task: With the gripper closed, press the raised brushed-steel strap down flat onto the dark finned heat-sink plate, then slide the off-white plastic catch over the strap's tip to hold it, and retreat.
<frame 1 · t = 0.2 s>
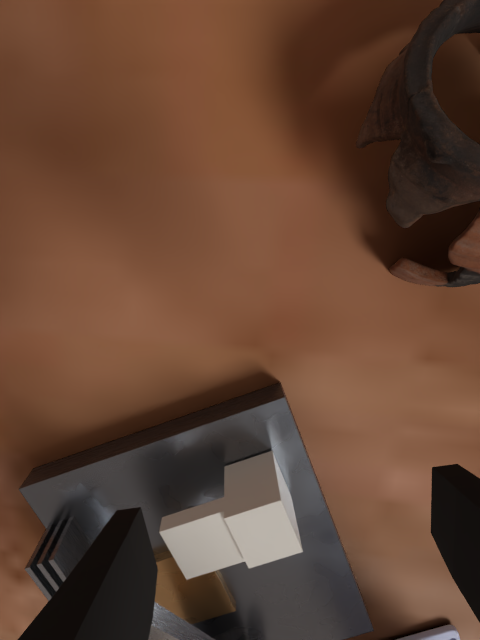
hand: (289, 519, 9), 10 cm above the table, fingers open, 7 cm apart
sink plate: (214, 543, 23), on the table
pottery mug: (466, 176, 17), on the table
catch: (230, 516, 18), point 3 cm above the table, slide at 0.0 cm
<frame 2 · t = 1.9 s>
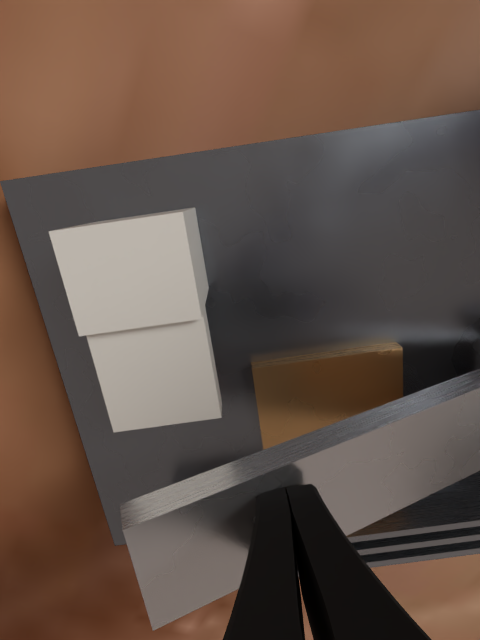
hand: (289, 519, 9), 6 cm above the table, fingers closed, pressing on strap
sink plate: (301, 343, 15), on the table
strap: (379, 462, 11), point 5 cm above the table, hinge at 20.0°, touching gripper
catch: (154, 317, 11), point 3 cm above the table, slide at 0.0 cm
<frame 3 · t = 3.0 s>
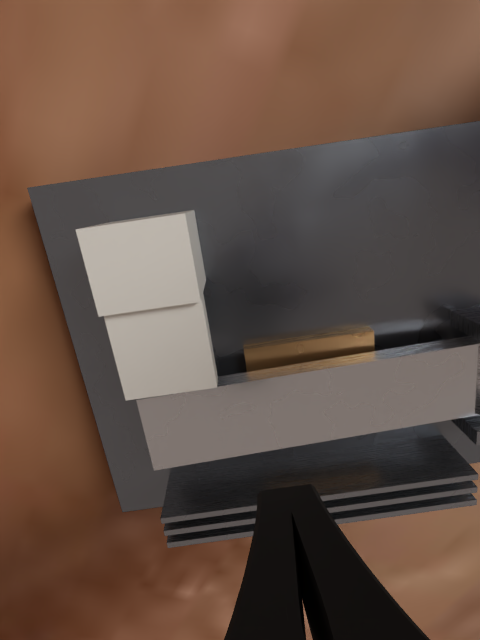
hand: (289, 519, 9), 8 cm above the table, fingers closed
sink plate: (288, 329, 17), on the table
strap: (327, 400, 15), point 3 cm above the table, hinge at 2.7°
catch: (160, 303, 13), point 3 cm above the table, slide at 0.0 cm
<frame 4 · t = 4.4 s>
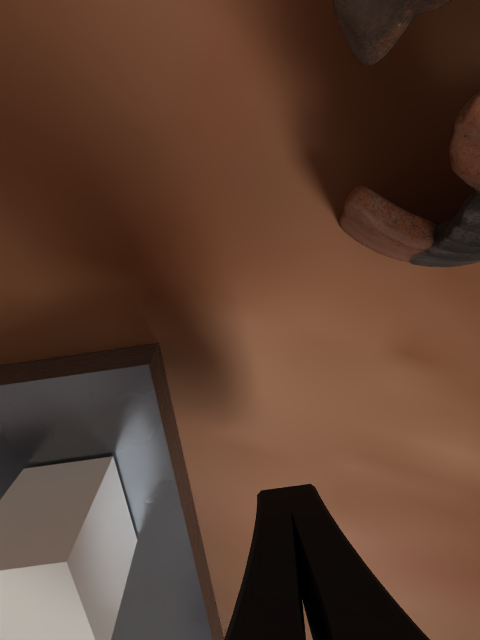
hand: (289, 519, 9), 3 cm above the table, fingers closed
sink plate: (16, 586, 14), on the table
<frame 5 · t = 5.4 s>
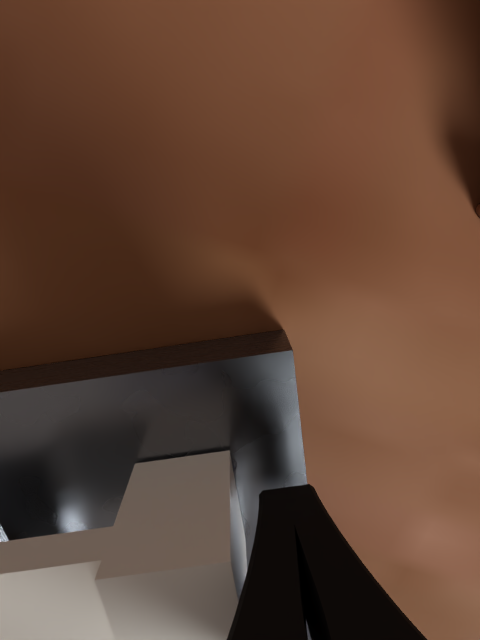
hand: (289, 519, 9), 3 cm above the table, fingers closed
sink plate: (111, 585, 13), on the table
catch: (123, 563, 9), point 3 cm above the table, slide at 0.4 cm, touching gripper
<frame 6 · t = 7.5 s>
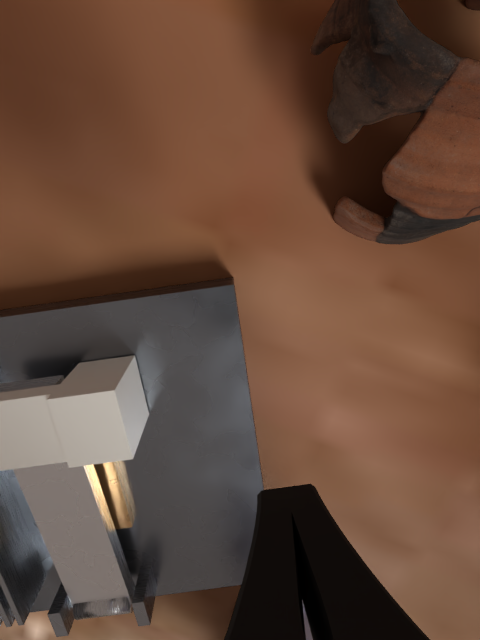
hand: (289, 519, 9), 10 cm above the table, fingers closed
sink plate: (124, 452, 20), on the table
pottery mug: (425, 132, 16), on the table
strap: (71, 511, 18), point 3 cm above the table, hinge at 2.7°
catch: (68, 412, 16), point 3 cm above the table, slide at 3.2 cm
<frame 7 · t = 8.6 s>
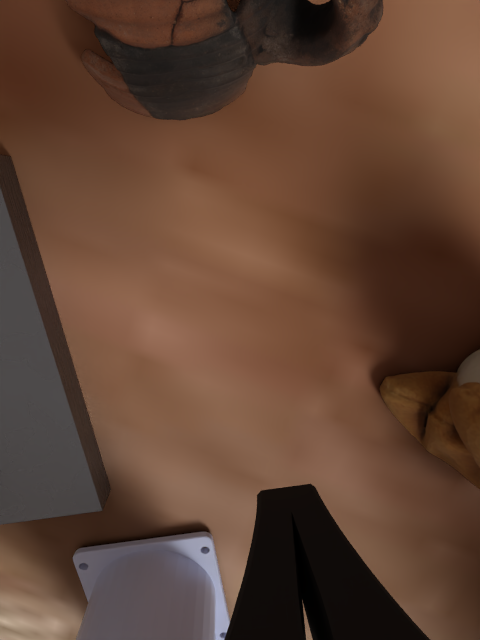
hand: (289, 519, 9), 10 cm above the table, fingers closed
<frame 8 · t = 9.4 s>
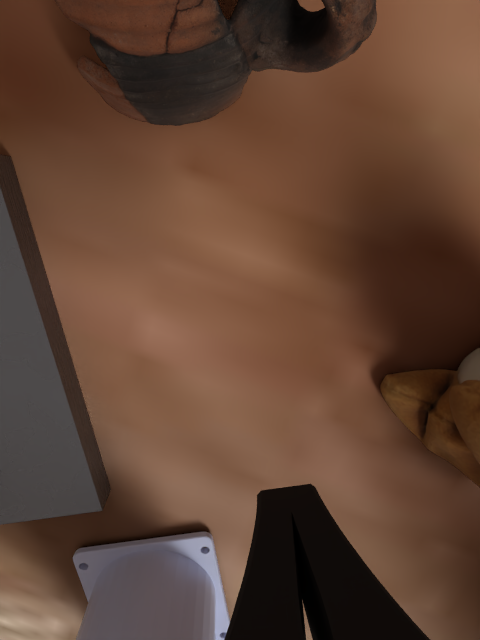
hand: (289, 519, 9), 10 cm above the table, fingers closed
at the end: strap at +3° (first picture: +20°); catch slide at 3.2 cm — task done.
